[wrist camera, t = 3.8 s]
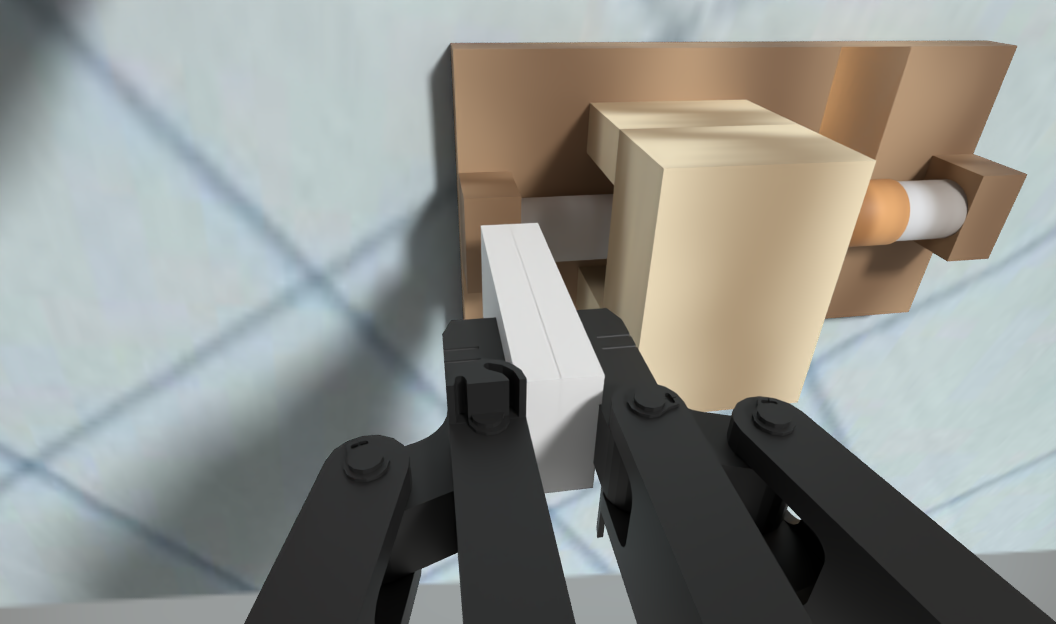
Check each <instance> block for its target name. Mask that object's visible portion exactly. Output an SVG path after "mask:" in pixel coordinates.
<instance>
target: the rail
mask: <svg viewBox="0 0 1056 624" xmlns="http://www.w3.org/2000/svg"><path fill="white" fill-rule="evenodd" d="M450 44H451V66H452V87H453V109H454V131H455V152H456V174H457V196H458V217H459V239H460V260H461V282H462V304H463V320H465V319H479V318H483V297H482V259H481V226H482V225H503V224H524V223H538V224H539V227H540V229H541V231H542V234H543V236H544V238H545V240H546V243H547V245H548V247H549V249H550V252H551V254H552V256H553V259H554V261H555V263H556V265H557V268H558V270H559V272H560V275H561V277H562V279H563V281H564V284H565V286H566V288H567V290H568V293H569V295H570V297H571V300H572V302H573V304H574V306H575V309H576V310H579V309H578V307H577V305H576V299H577V284H578V270H579V267H589V266H605V265H607V255H608V244H609V234H610V224H611V213H612V203H613V192H614V185H613V183H612V182H611V181H610V180H609V179H608V178H607V176H606V175H605V174H604V173H603V172H602V170H601V169H600V168H599V167H598V166H597V164H596V163H595V162H594V161H593V160H592V158H591V157H590V156H589V155H588V154H587V140H588V125H589V111H590V103H605V102H654V101H704V100H748V101H750V102H752V103H754V104H756V105H759V106H761V107H763V108H765V109H767V110H769V111H771V112H774V113H776V114H778V115H780V116H782V117H784V118H786V119H788V120H791V121H793V122H795V123H797V124H799V125H801V126H803V127H806V128H808V129H810V130H812V131H814V132H816V133H818V134H821V135H823V136H825V137H827V138H829V139H831V140H833V141H835V142H838V143H840V144H842V145H844V146H846V147H848V148H850V149H853V150H855V151H857V152H859V153H861V154H863V155H865V156H868V157H870V158H872V159H874V160H876V163H875V166H874V169H873V172H872V176H871V179H870V182H869V185H868V188H867V191H866V194H865V197H864V200H863V203H862V206H861V209H860V212H859V215H858V218H857V222H856V225H855V228H854V231H853V234H852V237H851V240H850V243H849V246H848V249H847V252H846V255H845V258H844V261H843V264H842V268H841V271H840V274H839V277H838V280H837V283H836V286H835V289H834V292H833V295H832V298H831V301H830V304H829V307H828V310H827V314H826V317H825V319H827V318H839V317H851V316H864V315H876V314H888V313H901V312H909V309H910V307H911V305H912V302H913V300H914V297H915V295H916V292H917V290H918V287H919V285H920V283H921V280H922V278H923V275H924V273H925V270H926V268H927V265H928V263H929V261H930V258H931V256H932V253H934V254H936V255H938V256H939V257H941V258H943V259H944V260H946V261H960V260H975V259H988V258H989V256H990V254H991V251H992V249H993V247H994V245H995V243H996V241H997V238H998V236H999V234H1000V232H1001V230H1002V228H1003V226H1004V223H1005V221H1006V219H1007V217H1008V215H1009V213H1010V211H1011V208H1012V206H1013V204H1014V202H1015V200H1016V198H1017V196H1018V193H1019V191H1020V189H1021V187H1022V185H1023V183H1024V180H1025V178H1026V176H1027V174H1025V173H1022V172H1020V171H1017V170H1014V169H1012V168H1009V167H1006V166H1004V165H1001V164H999V163H996V162H993V161H991V160H988V159H985V158H983V157H980V156H977V155H975V154H973V153H974V151H975V148H976V146H977V143H978V141H979V138H980V136H981V134H982V131H983V129H984V126H985V124H986V121H987V119H988V116H989V114H990V112H991V109H992V107H993V104H994V102H995V99H996V97H997V94H998V92H999V90H1000V87H1001V85H1002V82H1003V80H1004V77H1005V75H1006V72H1007V70H1008V68H1009V65H1010V63H1011V60H1012V58H1013V55H1014V53H1015V51H1016V48H1017V46H1016V45H1010V44H1004V43H998V42H992V41H800V42H583V43H450Z"/></svg>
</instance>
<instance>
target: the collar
mask: <svg viewBox="0 0 1056 624" xmlns="http://www.w3.org/2000/svg"><path fill="white" fill-rule="evenodd" d="M587 154H588V155H589V156H590V157H591V158H592V160H593V161H594V162H595V163H596V164H597V166H598V167H599V168H600V169H601V170H602V172H603V173H604V174H605V175H606V176H607V178H608V179H609V180H610V181H611V182H612V183H613V185H614V192H613V203H612V213H611V224H610V234H609V244H608V255H607V265H605V266H589V267H579V270H578V284H577V299H576V305H577V307H578V309H579V310H585V309H599V308H607V309H609V310H610V311H611V312H613V313H614V314H615V315H617V316H618V317H619V318H621V319H622V320H623V322H624V324H625V326H626V328H627V329H628V331H629V333H630V336H631V337H632V338H633V340H634V342H635V344H636V347H637V348H638V349H639V351H640V353H641V355H642V357H643V358H644V360H645V362H646V364H647V366H648V368H649V369H650V371H651V373H652V375H653V377H654V378H655V380H656V382H657V384H658V385H662V386H665V387H667V388H669V389H670V390H672V391H674V392H675V393H677V394H678V395H679V397H680V398H681V399H682V400H683V401H684V402H685V404H686V406H687V407H688V408H689V409H692V410H696V411H701V412H708V411H718V410H727V409H734V408H735V406H736V404H737V403H738V402H740V401H741V400H743V399H745V398H749V397H757V396H762V397H770V398H776V399H778V400H781V401H784V402H787V403H795V402H798V399H799V396H800V393H801V390H802V387H803V384H804V381H805V378H806V375H807V372H808V369H809V366H810V363H811V360H812V356H813V353H814V350H815V347H816V344H817V341H818V338H819V335H820V332H821V329H822V326H823V323H824V320H825V317H826V314H827V310H828V307H829V304H830V301H831V298H832V295H833V292H834V289H835V286H836V283H837V280H838V277H839V274H840V271H841V268H842V264H843V261H844V258H845V255H846V252H847V249H848V246H849V243H850V240H851V237H852V234H853V231H854V228H855V225H856V222H857V218H858V215H859V212H860V209H861V206H862V203H863V200H864V197H865V194H866V191H867V188H868V185H869V182H870V179H871V176H872V172H873V169H874V166H875V163H876V160H874V159H872V158H870V157H868V156H865V155H863V154H861V153H859V152H857V151H855V150H853V149H850V148H848V147H846V146H844V145H842V144H840V143H838V142H835V141H833V140H831V139H829V138H827V137H825V136H823V135H821V134H818V133H816V132H814V131H812V130H810V129H808V128H806V127H803V126H801V125H799V124H797V123H795V122H793V121H791V120H788V119H786V118H784V117H782V116H780V115H778V114H776V113H774V112H771V111H769V110H767V109H765V108H763V107H761V106H759V105H756V104H754V103H752V102H750V101H748V100H704V101H654V102H605V103H590V111H589V125H588V140H587Z"/></svg>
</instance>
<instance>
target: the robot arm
mask: <svg viewBox="0 0 1056 624" xmlns="http://www.w3.org/2000/svg"><path fill="white" fill-rule="evenodd" d="M481 259H482V297H483V318H479V319H465V320H451V321H450V323H449V324H448V326H447V328H446V329H445V331H444V332H443V334H442V335H443V350H444V364H445V379H446V393H447V407H448V410H447V417H446V419H445V421H444V423H443V424H442V426H441V427H440V428H439V429H438V430H437V431H436V432H434V433H433V434H432V435H430V436H429V437H427V438H425V439H423V440H421V441H418V442H416V443H413V444H410V445H407V446H405V447H404V445H403V444H401V443H400V442H398V441H397V440H395V439H394V438H390V437H386V436H381V435H371V436H362V437H359V438H356V439H353V440H350V441H347V442H345V443H344V444H342V445H341V446H339V447H338V448H336V449H335V450H334V451H333V452H332V453H331V455H330V456H329V457H328V458H327V460H326V461H325V463H324V465H323V467H322V469H321V471H320V473H319V475H318V477H317V479H316V481H315V483H314V485H313V487H312V489H311V491H310V493H309V495H308V497H307V499H306V501H305V503H304V505H303V507H302V509H301V511H300V513H299V515H298V517H297V519H296V521H295V523H294V525H293V527H292V529H291V531H290V533H289V535H288V537H287V539H286V541H285V543H284V545H283V547H282V549H281V551H280V553H279V555H278V557H277V559H276V561H275V563H274V565H273V567H272V569H271V571H270V573H269V575H268V577H267V579H266V581H265V583H264V585H263V587H262V589H261V591H260V593H259V595H258V597H257V599H256V601H255V603H254V605H253V607H252V609H251V611H250V613H249V615H248V617H247V619H246V621H245V623H244V624H408V623H409V620H410V616H411V612H412V608H413V604H414V600H415V596H416V592H417V588H418V584H419V581H420V577H421V569H422V568H424V567H426V566H429V565H431V564H433V563H435V562H438V561H440V560H442V559H444V558H447V557H449V556H451V555H453V554H456V553H458V561H459V575H460V588H461V602H462V615H463V624H576V623H575V619H574V615H573V611H572V606H571V602H570V598H569V594H568V590H567V586H566V581H565V577H564V573H563V569H562V565H561V560H560V556H559V552H558V548H557V544H556V540H555V535H554V531H553V527H552V523H551V519H550V515H549V510H548V506H547V502H546V498H545V494H544V493H551V492H560V491H569V490H578V489H586V488H593V482H594V472H595V469H596V472H597V475H598V478H599V481H600V484H601V493H600V502H599V511H598V519H597V538H599V537H603V533H604V525H605V526H606V529H607V532H608V535H609V538H610V541H611V544H612V548H613V551H614V554H615V557H616V560H617V563H618V566H619V569H620V572H621V575H622V578H623V581H624V585H625V588H626V591H627V594H628V597H629V600H630V603H631V606H632V609H633V612H634V615H635V619H636V621H637V624H1056V622H1055V621H1054V620H1053V619H1051V618H1050V617H1049V616H1048V615H1047V614H1045V613H1044V612H1043V611H1042V610H1041V609H1039V608H1038V607H1037V606H1036V605H1035V604H1033V603H1032V602H1031V601H1030V600H1029V599H1027V598H1026V597H1025V596H1024V595H1022V594H1021V593H1020V592H1019V591H1018V590H1016V589H1015V588H1014V587H1013V586H1012V585H1011V584H1009V583H1008V582H1007V581H1006V580H1004V579H1003V578H1002V577H1001V576H1000V575H998V574H997V573H996V572H995V571H994V570H992V569H991V568H990V567H989V566H988V565H986V564H985V563H984V562H983V561H982V560H980V559H979V558H978V557H977V556H976V555H974V554H973V553H972V552H971V551H970V550H968V549H967V548H966V547H965V546H964V545H962V544H961V543H960V542H959V541H957V540H956V539H955V538H954V537H953V536H951V535H950V534H949V533H948V532H947V531H945V530H944V529H943V528H942V527H941V526H939V525H938V524H937V523H936V522H935V521H933V520H932V519H931V518H930V517H929V516H927V515H926V514H925V513H924V512H923V511H921V510H920V509H919V508H918V507H917V506H915V505H914V504H913V503H912V502H910V501H909V500H908V499H907V498H906V497H904V496H903V495H902V494H901V493H900V492H898V491H897V490H896V489H895V488H894V487H892V486H891V485H890V484H889V483H888V482H886V481H885V480H884V479H883V478H882V477H880V476H879V475H878V474H877V473H876V472H874V471H873V470H872V469H871V468H870V467H868V466H867V465H866V464H865V463H863V462H862V461H861V460H860V459H859V458H857V457H856V456H855V455H854V454H853V453H851V452H850V451H849V450H848V449H847V448H845V447H844V446H843V445H842V444H841V443H839V442H838V441H837V440H836V439H835V438H833V437H832V436H831V435H830V434H829V433H827V432H826V431H825V430H824V429H823V428H821V427H820V426H819V425H818V424H816V423H815V422H814V421H813V420H812V419H810V418H809V417H808V416H807V415H806V414H804V413H803V412H802V411H800V410H799V409H797V408H796V407H794V406H793V405H791V404H789V403H787V402H784V401H781V400H778V399H776V398H770V397H762V396H757V397H749V398H745V399H743V400H741V401H740V402H738V403H737V404H736V406H735V408H734V409H733V411H732V415H731V416H729V415H721V414H714V413H707V412H701V411H696V410H692V409H689V408H688V407H687V406H686V404H685V402H684V401H683V400H682V399H681V398H680V397H679V395H678V394H677V393H675V392H674V391H672V390H670V389H669V388H667V387H665V386H662V385H658V384H657V382H656V380H655V378H654V377H653V375H652V373H651V371H650V369H649V368H648V366H647V364H646V362H645V360H644V358H643V357H642V355H641V353H640V351H639V349H638V348H637V347H636V344H635V342H634V340H633V338H632V337H631V336H630V333H629V331H628V329H627V328H626V326H625V324H624V322H623V320H622V319H621V318H619V317H618V316H617V315H615V314H614V313H613V312H611V311H610V310H609V309H607V308H599V309H585V310H576V309H575V306H574V304H573V302H572V300H571V297H570V295H569V293H568V290H567V288H566V286H565V284H564V281H563V279H562V277H561V275H560V272H559V270H558V268H557V265H556V263H555V261H554V259H553V256H552V254H551V252H550V249H549V247H548V245H547V243H546V240H545V238H544V236H543V234H542V231H541V229H540V227H539V224H538V223H524V224H503V225H482V226H481ZM788 506H789V507H790V508H791V509H792V510H793V511H794V512H795V513H796V514H797V515H798V516H799V517H800V518H801V520H799V519H797V518H795V517H794V516H793V515H792V514H791V513H790V512H789V511H788V510H787V507H788Z"/></svg>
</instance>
